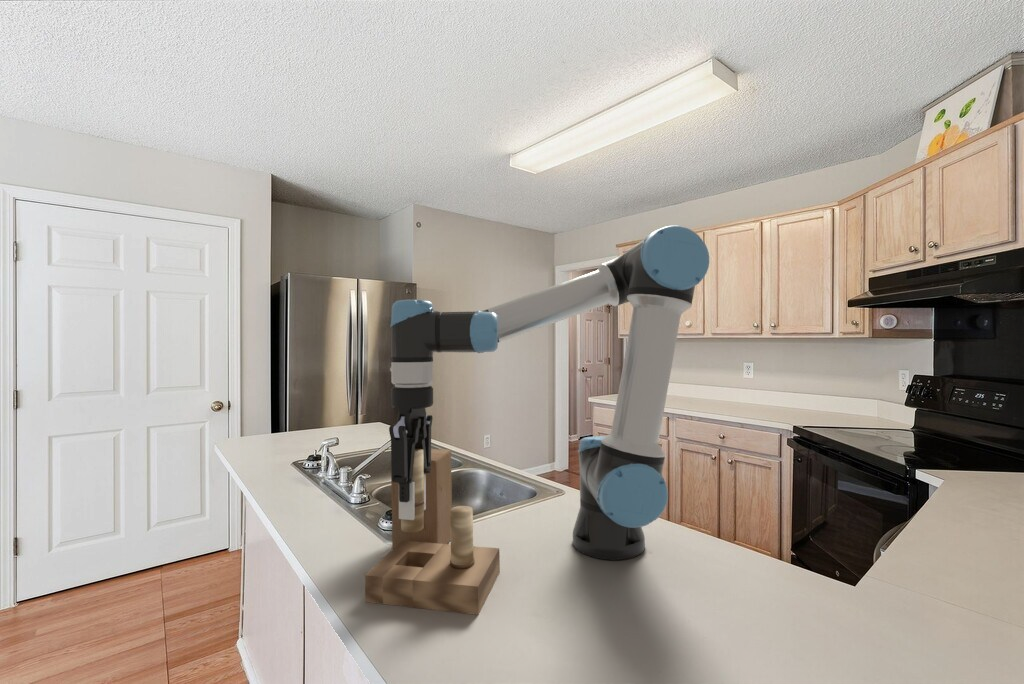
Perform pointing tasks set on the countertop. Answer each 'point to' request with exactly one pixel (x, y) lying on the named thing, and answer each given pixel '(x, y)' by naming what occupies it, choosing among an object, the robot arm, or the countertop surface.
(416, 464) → the peg
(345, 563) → the countertop surface
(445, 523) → the wooden block
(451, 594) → the board
